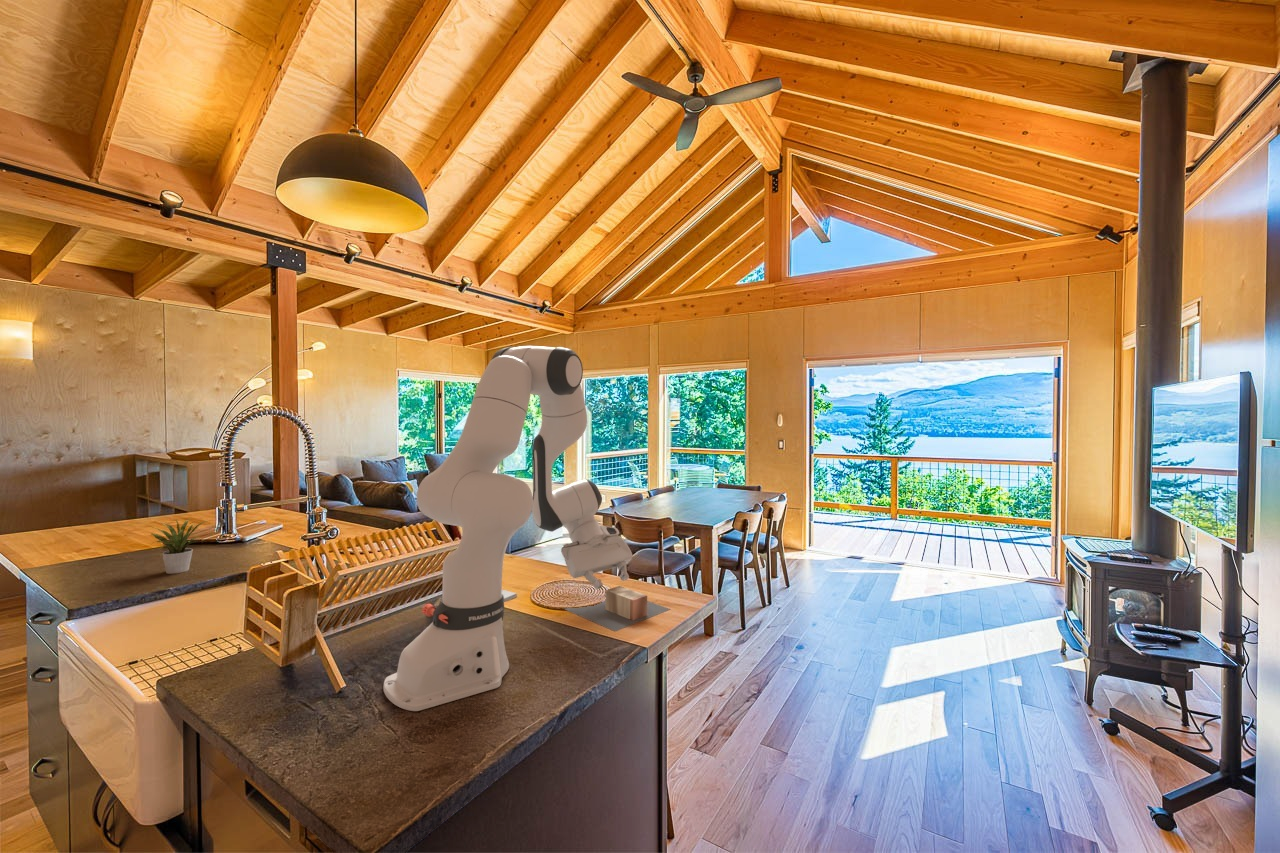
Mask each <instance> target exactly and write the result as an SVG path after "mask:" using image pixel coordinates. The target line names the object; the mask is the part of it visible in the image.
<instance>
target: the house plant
mask: <svg viewBox="0 0 1280 853" xmlns="http://www.w3.org/2000/svg"><path fill="white" fill-rule="evenodd" d="M175 521H176V529H175V528H174V527H173V526H172V524H169V523H168V522H166V523H161V524H162V525H163V526H165V527H166V528H168V530H169V531H170V532H168V531H166V530H163V529H160V528H157V527H152V526H151V528H154V529H156V530H158V531H159V532H161V533H162V534H163V535H164V536H165V537H164V536H163V535H160V534H157V533H152V532H151V533H149V534H150V535H151V536H153V537H154V538H155V539H157V540H155V541H153V542H152V544H154V543H162V544H164V545H162V546H161V547H160V549H161V548H165V547H166V548H167V549H168V550H166V551H163V552H162V553H161V554H162V559H163V563H164V569H165V572H166V574H170V575H173V574H180V573H181V574H182V573H184V572H188V571H189V570H190V565H191V560H192V556H193V555H192V554H193V551H194V549H193V548H190V547H189V548H188V545H190V544H192V543H197V542H199V538H201V539H202V537H201V536H195V537H193V538H190V539H189V537H190V535H192V534H193V533H194V532H195V531H196V530H197V529H198V528H199V527H200V526H202V524H204V523H207V522H208V520H205V521H202V522H200V523H196V524H195V523H194V521H192V522H191V523H189V522H190V519H187V520H185V521H184V522H183V523H182V525H181V527H180V523H179V522H178V520H177V519H176V520H175ZM211 521H212V520H210V522H211ZM188 523H189V524H188ZM187 527H188V529H186V528H187ZM176 530H177V531H176ZM185 532H186V533H185ZM166 537H167V538H166ZM188 539H189V540H188ZM195 539H198V540H195Z"/></svg>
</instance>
